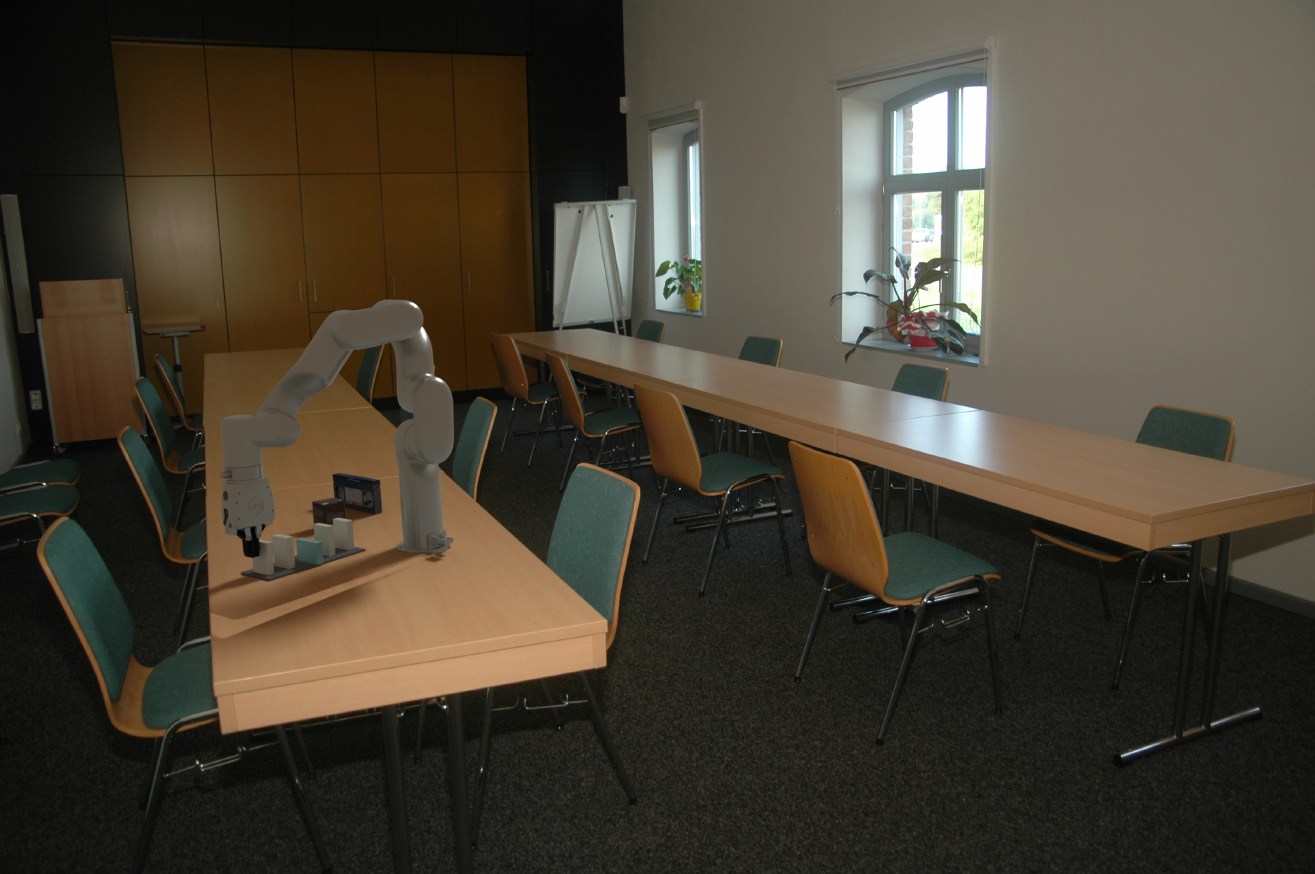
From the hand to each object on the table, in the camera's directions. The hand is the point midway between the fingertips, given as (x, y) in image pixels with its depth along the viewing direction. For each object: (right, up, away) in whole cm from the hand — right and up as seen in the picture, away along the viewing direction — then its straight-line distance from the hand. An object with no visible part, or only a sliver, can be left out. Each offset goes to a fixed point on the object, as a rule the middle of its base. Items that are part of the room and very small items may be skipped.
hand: (252, 556), depth 200 cm
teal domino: (+6, 0, +12) cm, 13 cm away
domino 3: (+10, -2, +17) cm, 19 cm away
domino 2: (+4, -3, +7) cm, 9 cm away
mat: (+7, -3, +12) cm, 14 cm away
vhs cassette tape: (+4, +5, +59) cm, 60 cm away
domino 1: (+1, -4, +3) cm, 5 cm away
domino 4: (+13, -1, +21) cm, 25 cm away
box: (+2, +2, +42) cm, 42 cm away
